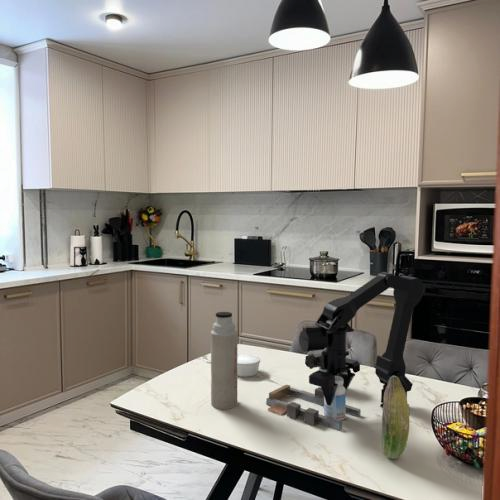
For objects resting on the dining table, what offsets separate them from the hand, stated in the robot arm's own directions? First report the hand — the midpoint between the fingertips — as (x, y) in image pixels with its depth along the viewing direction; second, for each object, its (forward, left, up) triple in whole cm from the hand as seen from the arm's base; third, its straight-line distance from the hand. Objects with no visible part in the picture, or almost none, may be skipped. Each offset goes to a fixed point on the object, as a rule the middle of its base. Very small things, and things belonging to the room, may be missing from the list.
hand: (334, 401), depth 129 cm
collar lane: (+8, 0, -5) cm, 9 cm away
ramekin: (+43, -10, -5) cm, 44 cm away
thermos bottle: (+30, +14, -5) cm, 33 cm away
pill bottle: (0, 0, -5) cm, 5 cm away
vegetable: (-22, +10, -5) cm, 25 cm away
